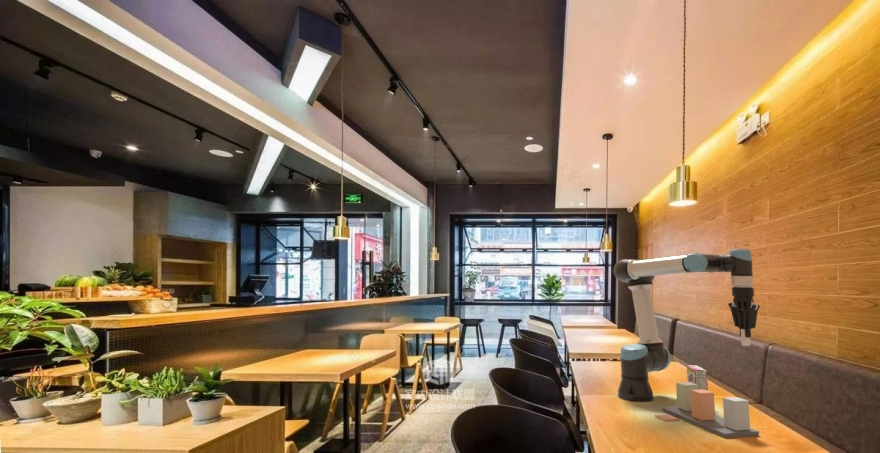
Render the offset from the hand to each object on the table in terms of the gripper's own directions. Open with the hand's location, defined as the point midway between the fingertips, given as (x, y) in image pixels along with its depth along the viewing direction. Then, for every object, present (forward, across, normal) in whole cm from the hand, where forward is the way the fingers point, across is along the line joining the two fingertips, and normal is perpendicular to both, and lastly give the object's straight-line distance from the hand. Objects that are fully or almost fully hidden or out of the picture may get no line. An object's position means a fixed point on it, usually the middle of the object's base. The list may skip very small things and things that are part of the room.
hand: (745, 345), depth 184 cm
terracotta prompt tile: (+28, +5, +34) cm, 45 cm away
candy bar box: (+29, +18, +8) cm, 35 cm away
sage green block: (+27, +10, +20) cm, 35 cm away
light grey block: (+27, -14, +20) cm, 36 cm away
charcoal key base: (+28, -2, +22) cm, 36 cm away
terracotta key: (+27, -2, +23) cm, 35 cm away
